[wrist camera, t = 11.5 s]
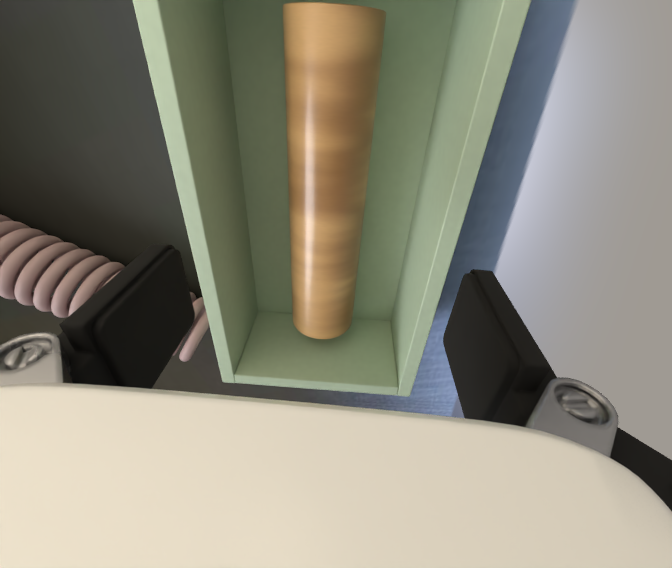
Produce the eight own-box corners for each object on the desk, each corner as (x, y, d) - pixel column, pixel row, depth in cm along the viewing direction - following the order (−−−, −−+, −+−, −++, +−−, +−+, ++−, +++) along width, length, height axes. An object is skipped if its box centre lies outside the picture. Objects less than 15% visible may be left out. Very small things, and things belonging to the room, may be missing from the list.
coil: (-107, 274, 19) (192, 377, 24) (-142, 213, 16) (206, 343, 21) (-32, 232, 23) (217, 328, 27) (-51, 176, 20) (231, 294, 24)
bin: (490, -84, 13) (588, -181, 7) (398, 323, 25) (409, 397, 20) (196, -102, 13) (81, -211, 8) (250, 312, 26) (222, 382, 20)
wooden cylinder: (325, 14, 15) (259, 2, 12) (404, 14, 13) (347, 1, 10) (318, 292, 24) (280, 320, 22) (363, 315, 22) (327, 349, 20)
